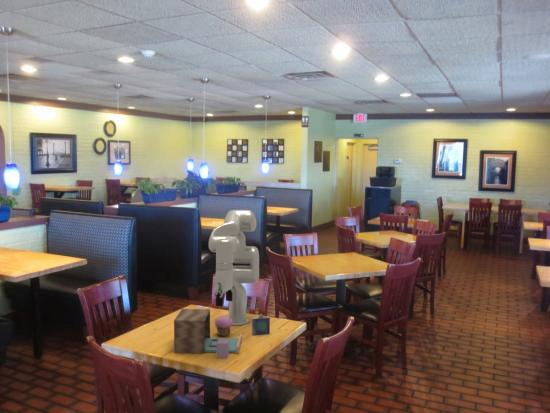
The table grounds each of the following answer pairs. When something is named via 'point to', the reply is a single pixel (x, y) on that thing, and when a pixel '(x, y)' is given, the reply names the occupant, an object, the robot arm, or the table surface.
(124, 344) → the table surface
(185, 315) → the cabinet
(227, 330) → the cupcake
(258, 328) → the flask
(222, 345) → the block
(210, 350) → the tray
